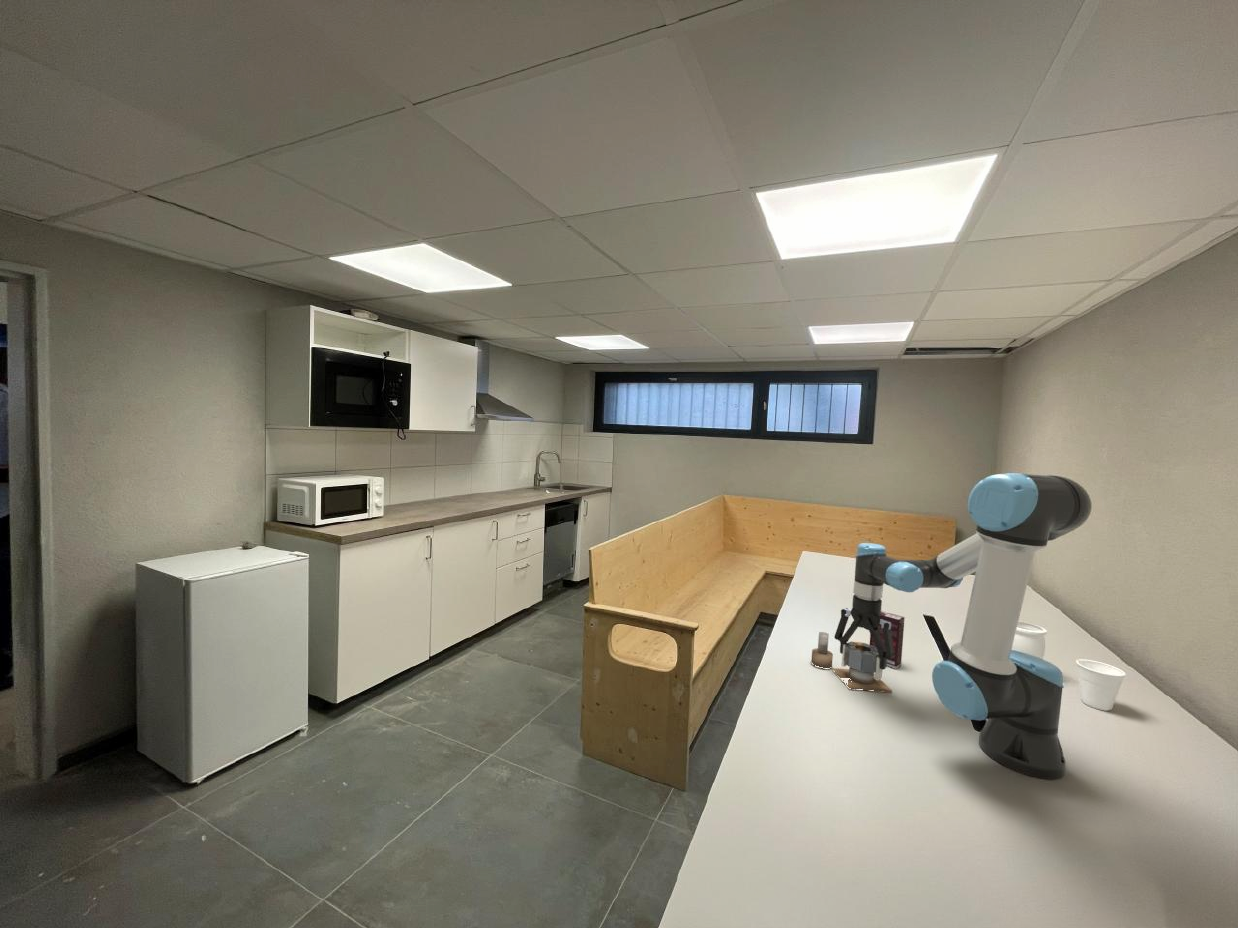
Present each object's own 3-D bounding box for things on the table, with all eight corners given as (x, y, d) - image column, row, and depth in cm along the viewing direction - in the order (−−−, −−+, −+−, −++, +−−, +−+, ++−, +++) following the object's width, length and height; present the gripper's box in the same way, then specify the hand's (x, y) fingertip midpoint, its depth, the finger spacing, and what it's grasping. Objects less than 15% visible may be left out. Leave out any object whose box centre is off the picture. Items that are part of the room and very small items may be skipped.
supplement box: (901, 665, 154) (905, 616, 154) (896, 669, 151) (900, 620, 150) (872, 655, 161) (876, 608, 160) (867, 659, 158) (871, 611, 157)
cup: (1132, 717, 130) (1136, 678, 129) (1089, 711, 132) (1093, 672, 131) (1103, 699, 139) (1107, 661, 139) (1063, 693, 141) (1067, 656, 141)
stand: (835, 670, 149) (837, 638, 148) (815, 668, 149) (817, 636, 148) (827, 661, 155) (829, 630, 154) (808, 660, 155) (810, 629, 154)
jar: (1026, 666, 159) (1030, 621, 159) (1051, 681, 149) (1055, 633, 148) (991, 662, 160) (996, 618, 160) (1014, 677, 150) (1018, 630, 149)
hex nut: (884, 667, 142) (886, 650, 141) (870, 675, 136) (871, 657, 136) (853, 655, 149) (855, 639, 148) (839, 662, 143) (840, 645, 143)
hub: (892, 692, 136) (894, 663, 136) (849, 689, 137) (851, 660, 136) (871, 672, 148) (873, 645, 148) (831, 669, 149) (833, 642, 148)
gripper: (913, 605, 135) (906, 684, 136) (837, 584, 152) (832, 654, 153) (902, 610, 130) (895, 691, 132) (825, 588, 147) (819, 660, 149)
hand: (861, 671), depth 142 cm, fingers closed on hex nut, 9 cm apart
